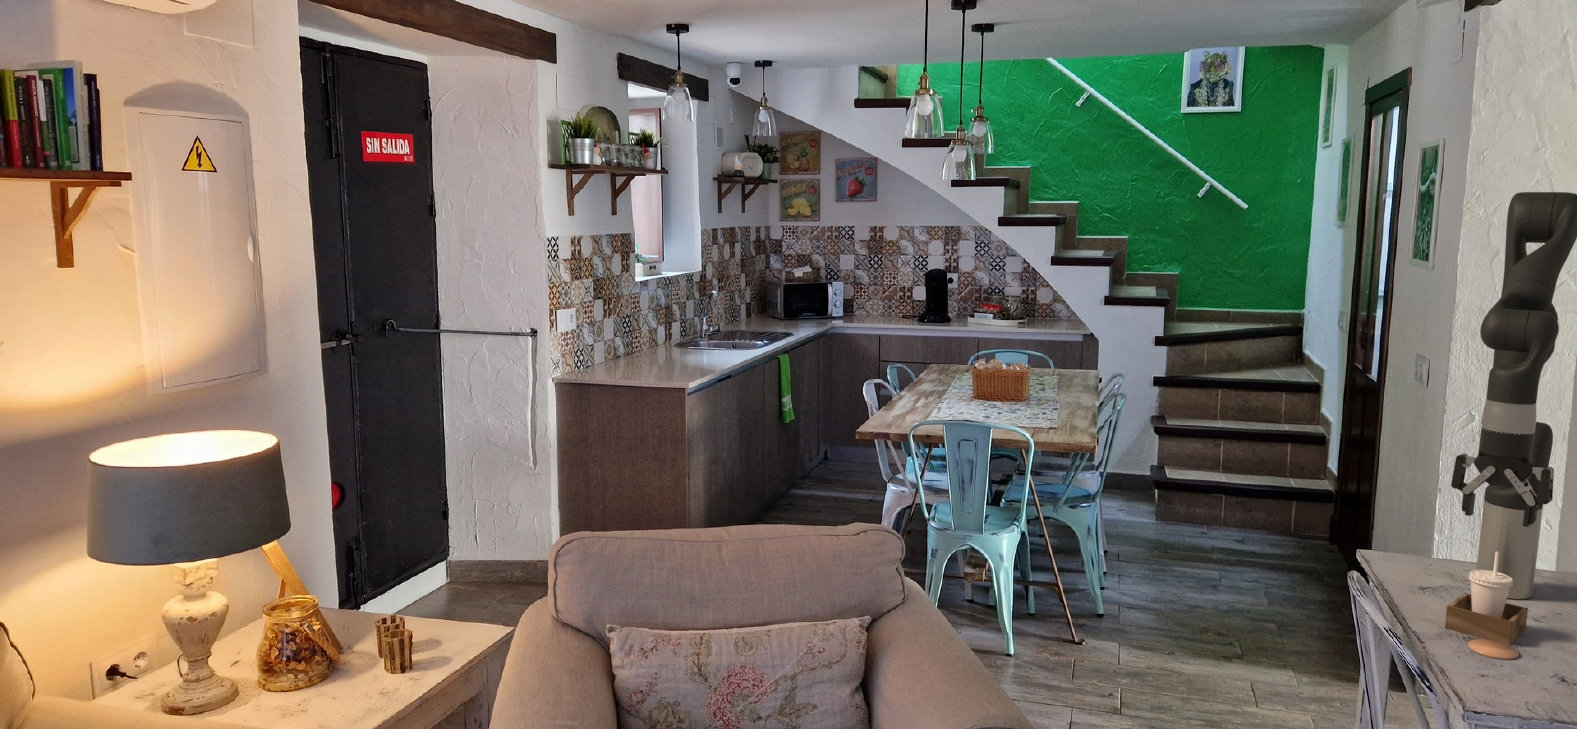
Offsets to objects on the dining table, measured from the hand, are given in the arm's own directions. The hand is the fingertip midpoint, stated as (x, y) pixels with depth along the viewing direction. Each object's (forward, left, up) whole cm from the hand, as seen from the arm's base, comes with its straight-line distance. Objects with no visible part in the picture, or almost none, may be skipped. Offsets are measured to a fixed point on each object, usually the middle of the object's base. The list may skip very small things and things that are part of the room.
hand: (1497, 520), depth 181 cm
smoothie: (0, 0, -20) cm, 20 cm away
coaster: (+9, +4, -20) cm, 22 cm away
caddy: (0, 0, -20) cm, 20 cm away
